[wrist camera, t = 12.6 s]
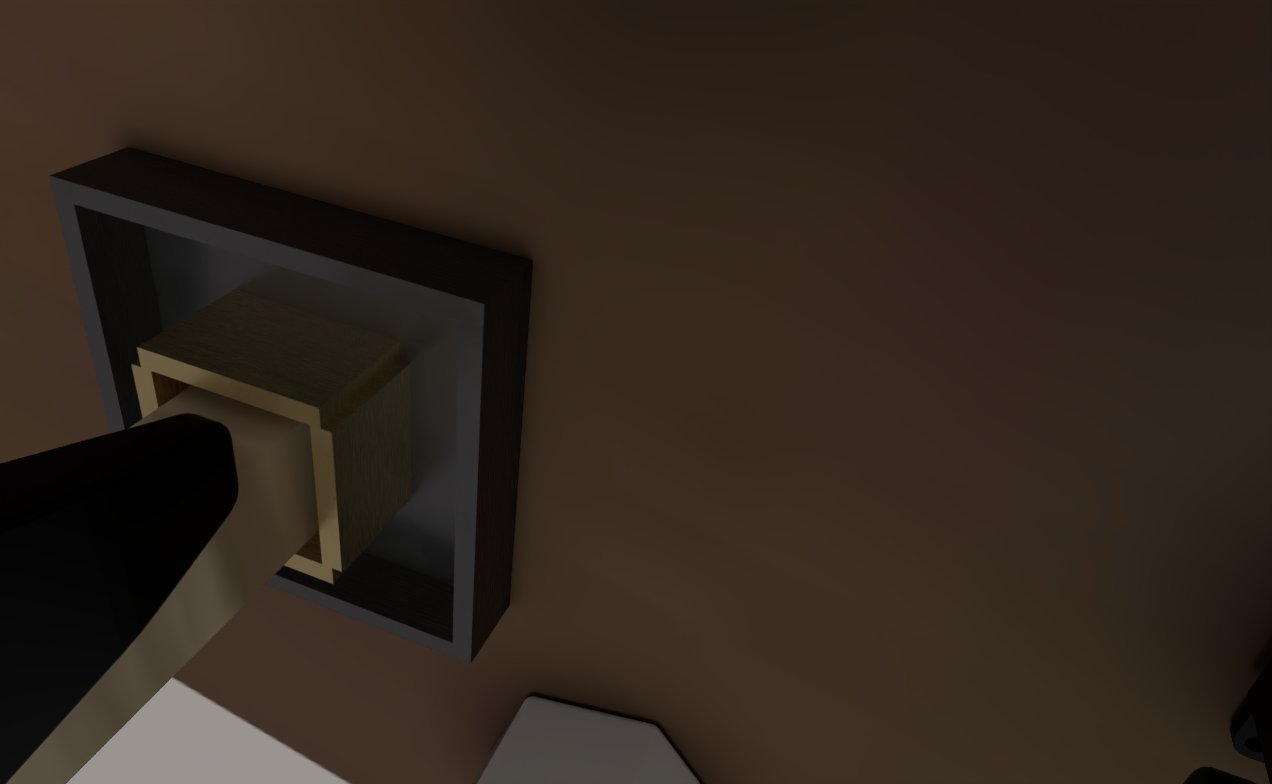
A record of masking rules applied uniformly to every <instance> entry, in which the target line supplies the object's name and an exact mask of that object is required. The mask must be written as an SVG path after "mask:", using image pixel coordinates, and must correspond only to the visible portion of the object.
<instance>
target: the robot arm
mask: <svg viewBox="0 0 1272 784" xmlns="http://www.w3.org/2000/svg"><path fill="white" fill-rule="evenodd" d="M238 493H239V482H238V476H237V469H236V462H235V456H234V449H233V442H232V437H231V433H230V431H229V430H228V428H227V427H226V426H225V425H223V424H222V423H220V422H217V421H214V420H211V419H208V418H206V417H203V416H200V415H197V414H192V413H183V414H179V415H175V416H171V417H168V418H164V419H161V420H157V421H153V422H150V423H146V424H142V425H139V426H135V427H132V428H128V429H124V430H121V431H117V432H113V433H110V434H106V435H102V436H99V437H95V438H92V439H88V440H84V441H81V442H77V443H73V444H70V445H66V446H63V447H59V448H55V449H52V450H48V451H44V452H41V453H37V454H34V455H30V456H26V457H23V458H19V459H15V460H12V461H8V462H4V463H1V464H0V784H6V783H7V782H8V781H9V780H10V779H11V778H12V777H13V776H14V774H15V773H16V772H17V771H18V770H19V769H20V768H21V767H22V766H23V764H24V763H25V762H26V761H27V760H28V759H29V758H30V757H31V756H32V754H33V753H34V752H35V751H36V750H37V749H38V748H39V747H40V746H41V744H42V743H43V742H44V741H45V740H46V739H47V738H48V737H49V736H50V734H51V733H52V732H53V731H54V730H55V729H56V728H57V727H58V726H59V725H60V723H61V722H62V721H63V720H64V719H65V718H66V717H67V716H68V715H69V713H70V712H71V711H72V710H73V709H74V708H75V707H76V706H77V705H78V703H79V702H80V701H81V700H82V699H83V698H84V697H85V696H86V695H87V693H88V692H89V691H90V690H91V689H92V688H93V687H94V686H95V685H96V683H97V682H98V681H99V680H100V679H101V678H102V677H103V676H104V675H105V673H106V672H107V671H108V670H109V669H110V668H111V667H112V666H113V665H114V663H115V662H116V661H117V660H118V659H119V658H120V657H121V656H122V655H123V653H124V652H125V651H126V650H127V649H128V648H129V646H130V645H131V644H132V643H133V642H134V641H135V639H136V638H137V637H138V636H139V635H140V634H141V632H142V631H143V630H144V629H145V627H146V626H147V625H148V623H149V622H150V621H151V620H152V618H153V617H154V616H155V615H156V613H157V612H158V611H159V609H160V608H161V607H162V605H163V604H164V603H165V601H166V600H167V598H168V597H169V596H170V594H171V593H172V592H173V590H174V589H175V588H176V586H177V585H178V584H179V582H180V581H181V579H182V578H183V577H184V575H185V574H186V573H187V571H188V570H189V569H190V567H191V566H192V565H193V563H194V562H195V560H196V559H197V558H198V556H199V555H200V554H201V552H202V551H203V550H204V548H205V547H206V546H207V544H208V543H209V542H210V540H211V539H212V537H213V536H214V535H215V533H216V532H217V531H218V529H219V528H220V527H221V525H222V524H223V523H224V521H225V520H226V518H227V517H228V516H229V514H230V513H231V511H232V510H233V508H234V506H235V504H236V501H237V498H238ZM1248 699H1249V701H1248V702H1247V704H1246V705H1245V706H1244V708H1243V709H1242V710H1241V711H1240V713H1239V714H1238V715H1237V717H1236V718H1235V719H1234V721H1233V722H1232V723H1231V726H1230V733H1231V737H1232V742H1233V746H1234V748H1235V749H1236V750H1237V751H1238V752H1239V753H1240V754H1242V755H1244V756H1246V757H1248V758H1251V759H1254V760H1257V761H1260V762H1263V763H1265V766H1266V770H1267V774H1268V778H1269V782H1270V784H1272V661H1271V662H1270V663H1269V664H1268V666H1267V667H1266V668H1265V670H1264V671H1263V672H1262V674H1261V675H1260V676H1259V678H1258V679H1257V680H1256V682H1255V683H1254V684H1253V686H1252V687H1251V688H1250V690H1249V691H1248ZM1255 736H1258V738H1256V739H1255V738H1250V737H1255ZM1183 784H1256V783H1254V782H1252V781H1250V780H1247V779H1244V778H1241V777H1238V776H1235V775H1232V774H1230V773H1227V772H1224V771H1221V770H1218V769H1215V768H1212V767H1205V766H1204V767H1200V768H1198V769H1196V770H1194V771H1193V772H1192V773H1191V774H1190V775H1189V777H1188V778H1187V779H1186V781H1185V782H1184V783H1183Z"/></svg>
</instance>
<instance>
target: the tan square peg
mask: <svg viewBox="0 0 1272 784" xmlns="http://www.w3.org/2000/svg"><path fill="white" fill-rule="evenodd" d="M183 413H192V414H197V415H200V416H203V417H206V418H208V419H211V420H214V421H217V422H220V423H222V424H223V425H225V426H226V427H227V428H228V430H229V431H230V433H231V437H232V442H233V449H234V456H235V462H236V469H237V476H238V482H239V493H238V498H237V501H236V504H235V506H234V508H233V510H232V511H231V513H230V514H229V516H228V517H227V518H226V520H225V521H224V523H223V524H222V525H221V527H220V528H219V529H218V531H217V532H216V533H215V535H214V536H213V537H212V539H211V540H210V542H209V543H208V544H207V546H206V547H205V548H204V550H203V551H202V552H201V554H200V555H199V556H198V558H197V559H196V560H195V562H194V563H193V565H192V566H191V567H190V569H189V570H188V571H187V573H186V574H185V575H184V577H183V578H182V579H181V581H180V582H179V584H178V585H177V586H176V588H175V589H174V590H173V592H172V593H171V594H170V596H169V597H168V598H167V600H166V601H165V603H164V604H163V605H162V607H161V608H160V609H159V611H158V612H157V613H156V615H155V616H154V617H153V618H152V620H151V621H150V622H149V623H148V625H147V626H146V627H145V629H144V630H143V631H142V632H141V634H140V635H139V636H138V637H137V638H136V639H135V641H134V642H133V643H132V644H131V645H130V646H129V648H128V649H127V650H126V651H125V652H124V653H123V655H122V656H121V657H120V658H119V659H118V660H117V661H116V662H115V663H114V665H113V666H112V667H111V668H110V669H109V670H108V671H107V672H106V673H105V675H104V676H103V677H102V678H101V679H100V680H99V681H98V682H97V683H96V685H95V686H94V687H93V688H92V689H91V690H90V691H89V692H88V693H87V695H86V696H85V697H84V698H83V699H82V700H81V701H80V702H79V703H78V705H77V706H76V707H75V708H74V709H73V710H72V711H71V712H70V713H69V715H68V716H67V717H66V718H65V719H64V720H63V721H62V722H61V723H60V725H59V726H58V727H57V728H56V729H55V730H54V731H53V732H52V733H51V734H50V736H49V737H48V738H47V739H46V740H45V741H44V742H43V743H42V744H41V746H40V747H39V748H38V749H37V750H36V751H35V752H34V753H33V754H32V756H31V757H30V758H29V759H28V760H27V761H26V762H25V763H24V764H23V766H22V767H21V768H20V769H19V770H18V771H17V772H16V773H15V774H14V776H13V777H12V778H11V779H10V780H9V781H8V782H7V783H6V784H66V783H67V782H68V781H69V780H70V779H71V778H72V777H73V776H74V775H75V774H76V773H77V772H78V771H79V770H80V769H81V768H82V767H83V766H84V765H85V764H86V763H87V762H88V761H89V760H90V759H91V758H92V757H93V756H94V755H95V754H96V753H97V752H98V751H99V750H100V749H101V748H102V747H103V746H104V745H105V744H106V743H107V742H108V741H109V740H110V739H111V738H112V737H113V736H114V735H115V734H116V733H117V732H118V731H119V730H120V729H121V728H122V727H123V726H124V725H125V724H126V723H127V722H128V721H129V720H130V719H131V718H132V717H133V716H134V715H135V714H136V713H137V712H138V711H139V710H140V709H141V708H142V707H143V706H144V705H145V704H146V703H147V702H148V701H149V700H150V699H151V698H152V697H153V696H154V695H155V694H156V693H157V692H158V691H159V690H160V689H161V688H162V687H163V686H164V685H165V684H166V683H167V682H168V681H169V680H170V679H171V678H172V677H173V676H174V675H175V674H176V673H177V672H178V671H179V670H180V669H181V668H182V667H183V666H184V665H185V664H186V663H187V662H188V661H189V660H190V659H191V658H192V657H193V656H194V655H195V654H196V653H197V652H198V651H199V650H200V649H201V648H202V647H203V646H204V645H205V644H206V643H207V642H208V641H209V640H210V639H211V638H212V637H213V636H214V635H215V634H216V633H217V632H218V631H219V630H220V629H221V628H222V627H223V626H224V625H225V624H226V623H227V622H228V621H229V620H230V619H231V618H232V617H233V616H234V615H235V614H236V613H237V612H238V611H239V610H240V609H241V608H242V607H243V606H244V605H245V604H246V603H247V602H248V601H249V600H250V599H251V598H252V597H253V596H254V595H255V594H256V593H257V592H258V591H259V590H260V589H261V588H262V587H263V586H264V585H265V584H266V583H267V582H268V581H269V580H270V579H271V578H272V577H273V575H274V574H275V573H276V572H277V571H278V570H279V569H280V568H281V567H282V566H283V565H284V564H285V563H286V562H287V561H288V560H289V559H290V558H291V557H292V556H293V555H294V554H295V553H296V552H297V551H298V550H299V549H300V548H301V547H302V546H303V545H304V544H305V543H306V542H307V541H308V540H309V539H310V538H311V537H312V536H313V535H314V534H315V533H316V532H317V531H318V530H319V522H318V511H317V500H316V488H315V477H314V466H313V455H312V443H311V432H310V425H308V424H305V423H302V422H299V421H296V420H293V419H290V418H287V417H284V416H281V415H279V414H276V413H273V412H270V411H267V410H264V409H261V408H258V407H255V406H252V405H249V404H246V403H243V402H241V401H238V400H235V399H232V398H229V397H226V396H223V395H220V394H217V393H214V392H211V391H208V390H205V389H202V388H200V387H197V386H194V385H192V386H190V387H189V388H187V389H186V390H184V391H183V392H181V393H180V394H178V395H177V396H175V397H174V398H172V399H171V400H169V401H168V402H167V403H165V404H164V405H162V406H161V407H159V408H158V409H156V410H155V411H153V412H152V413H150V414H149V415H147V416H146V417H144V418H143V419H141V420H140V421H138V422H137V423H136V424H134V425H133V426H131V427H130V428H132V427H135V426H139V425H142V424H146V423H150V422H153V421H157V420H161V419H164V418H168V417H171V416H175V415H179V414H183Z"/></svg>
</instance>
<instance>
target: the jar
mask: <svg viewBox="0 0 1272 784" xmlns="http://www.w3.org/2000/svg"><path fill="white" fill-rule="evenodd" d="M472 784H700V782H699V781H698V780H697V778H696V777H695V776H694V774H693V773H692V772H691V770H690V769H689V768H688V766H687V765H686V764H685V762H684V761H683V760H682V758H681V757H680V756H679V754H678V753H677V752H676V750H675V749H674V748H673V747H672V745H671V744H670V743H669V741H668V740H667V739H666V737H665V736H664V735H663V733H662V732H661V731H660V729H659V728H658V727H657V726H655V725H654V724H650V723H646V722H641V721H637V720H633V719H629V718H624V717H620V716H616V715H611V714H607V713H603V712H599V711H594V710H590V709H586V708H582V707H577V706H573V705H569V704H564V703H560V702H556V701H552V700H547V699H543V698H539V697H535V696H531V697H528V698H526V699H525V700H524V702H523V703H522V705H521V706H520V708H519V709H518V711H517V713H516V714H515V716H514V717H513V719H512V720H511V722H510V723H509V725H508V726H507V728H506V729H505V731H504V732H503V734H502V735H501V737H500V738H499V740H498V741H497V743H496V744H495V746H494V747H493V749H492V750H491V752H490V753H489V755H488V756H487V758H486V760H485V761H484V763H483V765H482V766H481V768H480V770H479V772H478V773H477V775H476V777H475V779H474V780H473V782H472Z"/></svg>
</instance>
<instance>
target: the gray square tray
mask: <svg viewBox="0 0 1272 784" xmlns="http://www.w3.org/2000/svg"><path fill="white" fill-rule="evenodd" d="M49 177H50V181H51V185H52V189H53V194H54V198H55V202H56V206H57V210H58V215H59V219H60V223H61V227H62V231H63V236H64V240H65V244H66V248H67V252H68V257H69V261H70V265H71V269H72V273H73V278H74V282H75V286H76V290H77V294H78V299H79V303H80V307H81V311H82V315H83V320H84V324H85V328H86V332H87V336H88V341H89V345H90V349H91V353H92V357H93V362H94V366H95V370H96V374H97V378H98V383H99V387H100V391H101V395H102V399H103V404H104V408H105V412H106V416H107V420H108V425H109V429H110V433H113V432H117V431H121V430H124V429H128V428H130V427H131V426H133V425H134V424H136V423H137V422H138V421H140V420H141V419H143V418H144V417H146V416H147V415H149V414H150V413H152V412H153V411H155V410H156V409H158V408H159V407H161V406H162V405H164V404H165V403H167V402H168V401H169V400H171V399H172V398H174V397H175V396H177V395H178V394H180V393H181V392H183V391H184V390H186V389H187V388H189V387H190V386H192V385H194V386H197V387H200V388H202V389H205V390H208V391H211V392H214V393H217V394H220V395H223V396H226V397H229V398H232V399H235V400H238V401H241V402H243V403H246V404H249V405H252V406H255V407H258V408H261V409H264V410H267V411H270V412H273V413H276V414H279V415H281V416H284V417H287V418H290V419H293V420H296V421H299V422H302V423H305V424H308V425H310V432H311V443H312V455H313V466H314V477H315V488H316V500H317V511H318V522H319V530H318V531H317V532H316V533H315V534H314V535H313V536H312V537H311V538H310V539H309V540H308V541H307V542H306V543H305V544H304V545H303V546H302V547H301V548H300V549H299V550H298V551H297V552H296V553H295V554H294V555H293V556H292V557H291V558H290V559H289V560H288V561H287V562H286V563H285V564H284V565H283V566H282V567H281V568H280V569H279V570H278V571H277V572H276V573H275V574H274V575H273V577H272V578H271V579H270V580H269V581H268V582H267V583H266V584H267V585H269V586H272V587H274V588H277V589H279V590H282V591H285V592H287V593H290V594H292V595H295V596H297V597H300V598H303V599H305V600H308V601H310V602H313V603H315V604H318V605H320V606H323V607H326V608H328V609H331V610H333V611H336V612H338V613H341V614H344V615H346V616H349V617H351V618H354V619H356V620H359V621H362V622H364V623H367V624H369V625H372V626H374V627H377V628H380V629H382V630H385V631H387V632H390V633H392V634H395V635H398V636H400V637H403V638H405V639H408V640H410V641H413V642H416V643H418V644H421V645H423V646H426V647H428V648H431V649H434V650H436V651H439V652H441V653H444V654H446V655H449V656H452V657H454V658H457V659H459V660H462V661H464V662H467V663H470V664H471V663H472V661H473V660H474V658H475V657H476V655H477V654H478V652H479V651H480V649H481V648H482V646H483V645H484V643H485V642H486V640H487V639H488V637H489V635H490V634H491V632H492V631H493V629H494V628H495V626H496V625H497V623H498V622H499V620H500V619H501V617H502V616H503V614H504V613H505V611H506V610H507V608H508V607H509V597H510V583H511V568H512V554H513V539H514V524H515V510H516V495H517V480H518V466H519V451H520V437H521V422H522V407H523V393H524V378H525V364H526V349H527V334H528V320H529V305H530V290H531V276H532V261H530V260H527V259H523V258H520V257H516V256H513V255H509V254H506V253H502V252H498V251H495V250H491V249H488V248H484V247H481V246H477V245H473V244H470V243H466V242H463V241H459V240H456V239H452V238H449V237H445V236H441V235H438V234H434V233H431V232H427V231H424V230H420V229H416V228H413V227H409V226H406V225H402V224H399V223H395V222H392V221H388V220H384V219H381V218H377V217H374V216H370V215H367V214H363V213H359V212H356V211H352V210H349V209H345V208H342V207H338V206H334V205H331V204H327V203H324V202H320V201H317V200H313V199H310V198H306V197H302V196H299V195H295V194H292V193H288V192H285V191H281V190H277V189H274V188H270V187H267V186H263V185H260V184H256V183H253V182H249V181H245V180H242V179H238V178H235V177H231V176H228V175H224V174H220V173H217V172H213V171H210V170H206V169H203V168H199V167H196V166H192V165H188V164H185V163H181V162H178V161H174V160H171V159H167V158H163V157H160V156H156V155H153V154H149V153H146V152H142V151H139V150H135V149H131V148H128V147H127V148H124V149H121V150H119V151H116V152H113V153H110V154H108V155H105V156H102V157H99V158H97V159H94V160H91V161H88V162H86V163H83V164H80V165H77V166H75V167H72V168H69V169H66V170H64V171H61V172H58V173H55V174H53V175H50V176H49Z"/></svg>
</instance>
